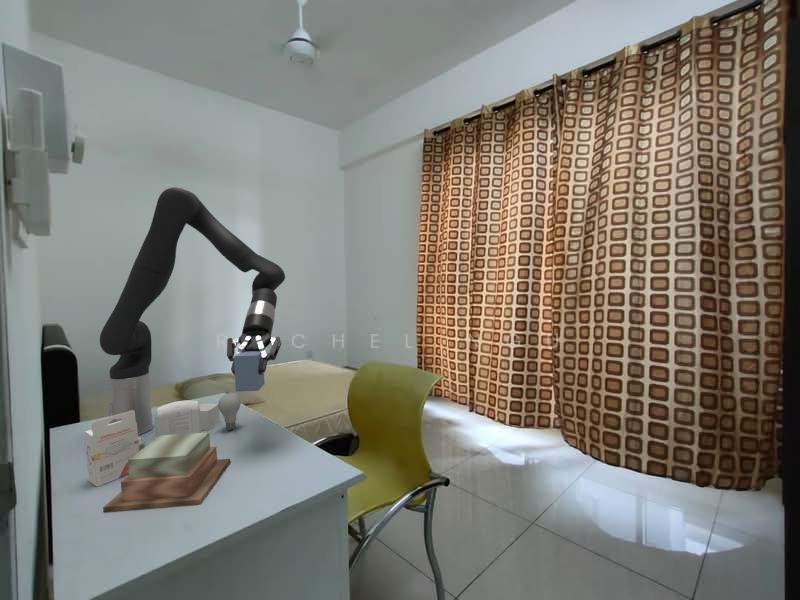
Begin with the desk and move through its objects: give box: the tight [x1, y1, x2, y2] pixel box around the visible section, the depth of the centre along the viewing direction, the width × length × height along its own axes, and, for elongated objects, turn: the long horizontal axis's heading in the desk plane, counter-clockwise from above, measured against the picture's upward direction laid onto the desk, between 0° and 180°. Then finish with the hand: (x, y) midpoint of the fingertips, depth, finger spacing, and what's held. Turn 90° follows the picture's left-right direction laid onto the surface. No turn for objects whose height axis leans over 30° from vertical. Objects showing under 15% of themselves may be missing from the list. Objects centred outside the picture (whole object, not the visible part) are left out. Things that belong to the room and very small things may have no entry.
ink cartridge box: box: [84, 410, 140, 487], centre depth 81 cm, size 9×5×15 cm, turn 148°
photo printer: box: [155, 399, 202, 438], centre depth 95 cm, size 10×4×12 cm, turn 123°
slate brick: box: [234, 351, 265, 393], centre depth 90 cm, size 6×6×9 cm
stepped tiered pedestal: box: [102, 431, 231, 513], centre depth 77 cm, size 18×16×9 cm
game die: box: [138, 436, 146, 450], centre depth 94 cm, size 4×4×3 cm
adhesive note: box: [199, 403, 221, 431], centre depth 108 cm, size 6×6×6 cm
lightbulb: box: [217, 392, 242, 431], centre depth 105 cm, size 6×6×11 cm
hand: (247, 373), depth 89 cm, fingers closed on slate brick, 5 cm apart
